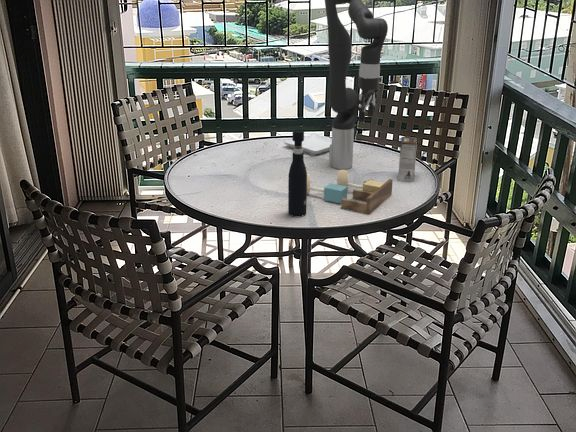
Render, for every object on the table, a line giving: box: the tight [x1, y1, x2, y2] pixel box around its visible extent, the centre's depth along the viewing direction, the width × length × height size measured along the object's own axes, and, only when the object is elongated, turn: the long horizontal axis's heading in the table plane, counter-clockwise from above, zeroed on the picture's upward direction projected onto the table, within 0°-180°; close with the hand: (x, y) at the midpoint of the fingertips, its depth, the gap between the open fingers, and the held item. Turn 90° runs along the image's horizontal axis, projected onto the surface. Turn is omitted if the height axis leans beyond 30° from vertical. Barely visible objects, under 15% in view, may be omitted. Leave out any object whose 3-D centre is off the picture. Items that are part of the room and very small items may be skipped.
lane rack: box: [340, 178, 393, 215], centre depth 231 cm, size 11×22×6 cm, turn 151°
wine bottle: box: [287, 129, 308, 217], centre depth 215 cm, size 6×6×30 cm
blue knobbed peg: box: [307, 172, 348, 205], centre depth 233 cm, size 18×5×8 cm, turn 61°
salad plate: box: [283, 133, 332, 155], centre depth 292 cm, size 21×21×3 cm
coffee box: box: [397, 136, 418, 182], centre depth 252 cm, size 9×6×16 cm
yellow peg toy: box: [336, 169, 385, 193], centre depth 237 cm, size 18×5×8 cm, turn 61°
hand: (366, 118), depth 235 cm, fingers open, 8 cm apart
